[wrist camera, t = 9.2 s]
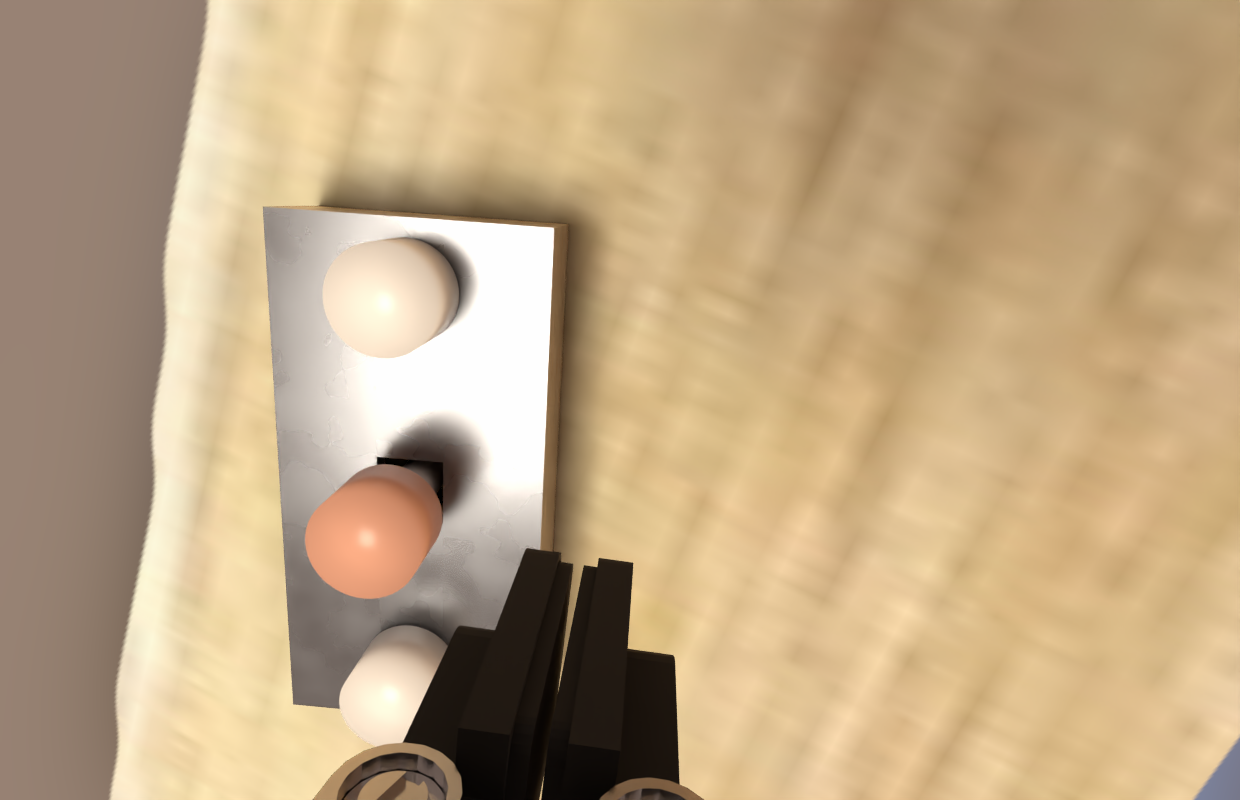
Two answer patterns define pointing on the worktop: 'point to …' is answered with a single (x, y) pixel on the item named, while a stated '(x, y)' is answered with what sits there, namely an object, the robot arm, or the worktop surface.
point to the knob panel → (417, 422)
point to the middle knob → (377, 528)
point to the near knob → (390, 296)
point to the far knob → (390, 683)
